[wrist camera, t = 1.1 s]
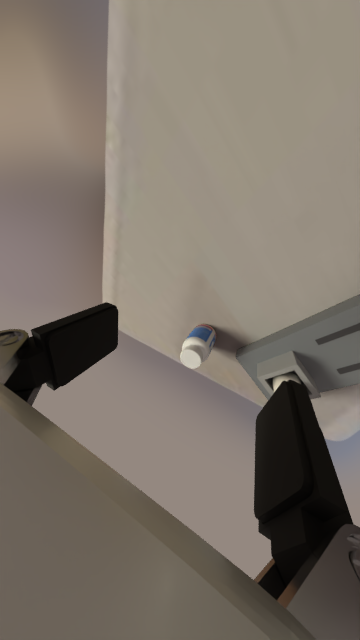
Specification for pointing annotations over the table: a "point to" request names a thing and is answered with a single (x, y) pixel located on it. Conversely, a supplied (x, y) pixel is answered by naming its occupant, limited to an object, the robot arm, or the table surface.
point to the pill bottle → (198, 346)
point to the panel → (310, 351)
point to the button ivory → (284, 379)
